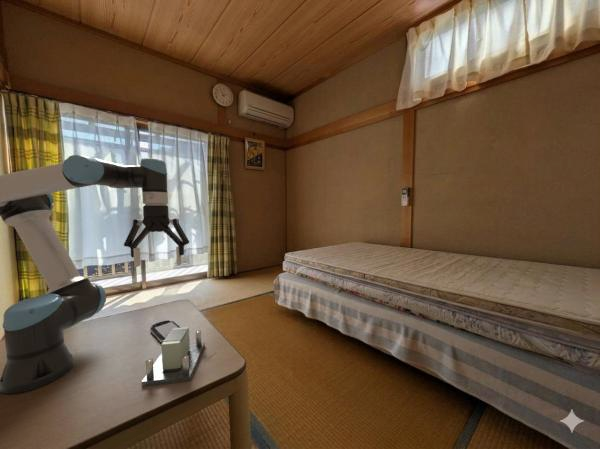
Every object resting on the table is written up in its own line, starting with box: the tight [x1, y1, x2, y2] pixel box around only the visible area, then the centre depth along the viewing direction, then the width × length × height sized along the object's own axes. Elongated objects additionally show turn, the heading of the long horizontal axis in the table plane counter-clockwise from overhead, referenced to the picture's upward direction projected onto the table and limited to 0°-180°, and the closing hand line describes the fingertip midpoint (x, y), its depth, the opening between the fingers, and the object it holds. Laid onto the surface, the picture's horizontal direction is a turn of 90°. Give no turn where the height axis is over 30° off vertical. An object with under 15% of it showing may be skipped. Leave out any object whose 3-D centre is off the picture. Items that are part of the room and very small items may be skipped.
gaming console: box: [149, 320, 181, 344], centre depth 96 cm, size 19×9×3 cm, turn 48°
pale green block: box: [160, 326, 191, 370], centre depth 77 cm, size 5×10×8 cm, turn 9°
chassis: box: [141, 330, 206, 387], centre depth 77 cm, size 13×18×6 cm
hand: (158, 265), depth 83 cm, fingers open, 13 cm apart
